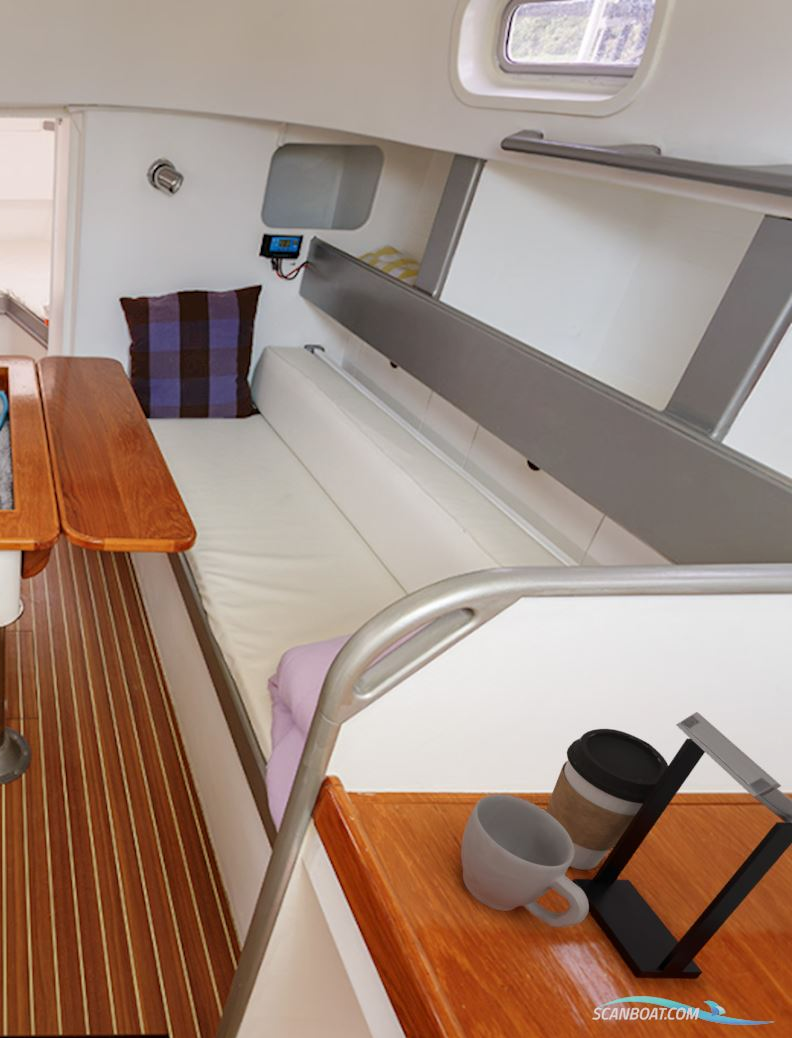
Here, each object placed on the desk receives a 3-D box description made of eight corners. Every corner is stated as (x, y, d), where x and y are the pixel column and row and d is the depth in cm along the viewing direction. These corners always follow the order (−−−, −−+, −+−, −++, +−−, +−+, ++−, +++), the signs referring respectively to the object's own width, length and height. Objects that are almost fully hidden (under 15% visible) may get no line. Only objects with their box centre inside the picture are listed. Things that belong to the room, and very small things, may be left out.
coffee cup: (629, 866, 81) (694, 772, 74) (578, 890, 79) (641, 795, 71) (556, 807, 88) (609, 715, 81) (507, 828, 85) (558, 735, 78)
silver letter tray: (730, 768, 69) (751, 756, 68) (811, 842, 62) (835, 829, 61) (675, 724, 66) (696, 711, 65) (753, 796, 59) (778, 783, 58)
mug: (426, 866, 81) (455, 807, 76) (482, 841, 84) (513, 783, 79) (528, 970, 71) (569, 910, 66) (588, 938, 74) (630, 878, 69)
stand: (623, 886, 79) (728, 739, 68) (697, 979, 71) (829, 828, 60) (569, 885, 79) (665, 737, 68) (636, 978, 71) (757, 826, 60)
